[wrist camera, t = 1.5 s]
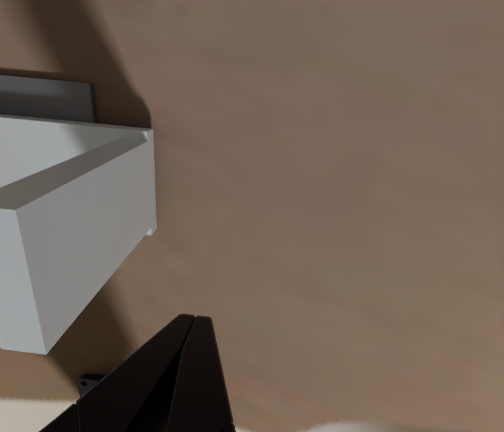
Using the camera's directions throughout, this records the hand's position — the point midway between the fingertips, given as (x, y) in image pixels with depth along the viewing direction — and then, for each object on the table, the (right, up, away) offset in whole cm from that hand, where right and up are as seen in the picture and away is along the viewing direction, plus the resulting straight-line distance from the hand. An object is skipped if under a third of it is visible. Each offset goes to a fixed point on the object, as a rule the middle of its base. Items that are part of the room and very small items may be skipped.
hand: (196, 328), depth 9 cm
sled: (-12, +6, +11) cm, 17 cm away
